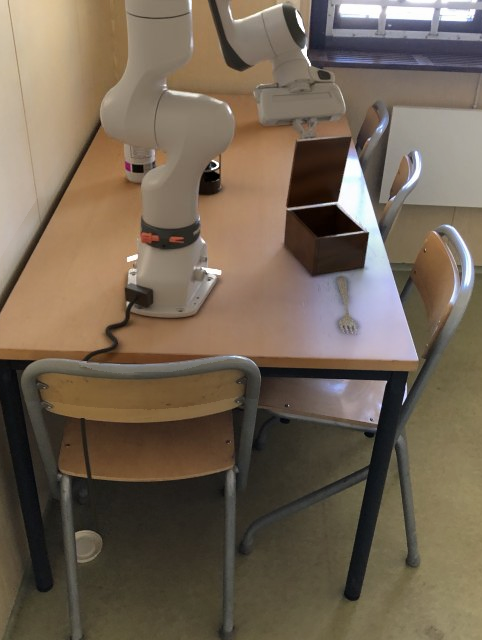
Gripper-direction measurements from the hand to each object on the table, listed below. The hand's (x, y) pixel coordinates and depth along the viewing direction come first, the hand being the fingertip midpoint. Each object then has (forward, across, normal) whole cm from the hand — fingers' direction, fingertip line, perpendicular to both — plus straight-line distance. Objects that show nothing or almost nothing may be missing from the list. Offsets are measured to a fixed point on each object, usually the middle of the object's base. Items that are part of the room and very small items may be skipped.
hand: (309, 139), depth 155 cm
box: (+25, 0, +8) cm, 26 cm away
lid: (+8, 0, 0) cm, 8 cm away
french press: (-7, -14, +40) cm, 43 cm away
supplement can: (-14, -29, +47) cm, 57 cm away
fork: (+40, -5, -7) cm, 41 cm away
